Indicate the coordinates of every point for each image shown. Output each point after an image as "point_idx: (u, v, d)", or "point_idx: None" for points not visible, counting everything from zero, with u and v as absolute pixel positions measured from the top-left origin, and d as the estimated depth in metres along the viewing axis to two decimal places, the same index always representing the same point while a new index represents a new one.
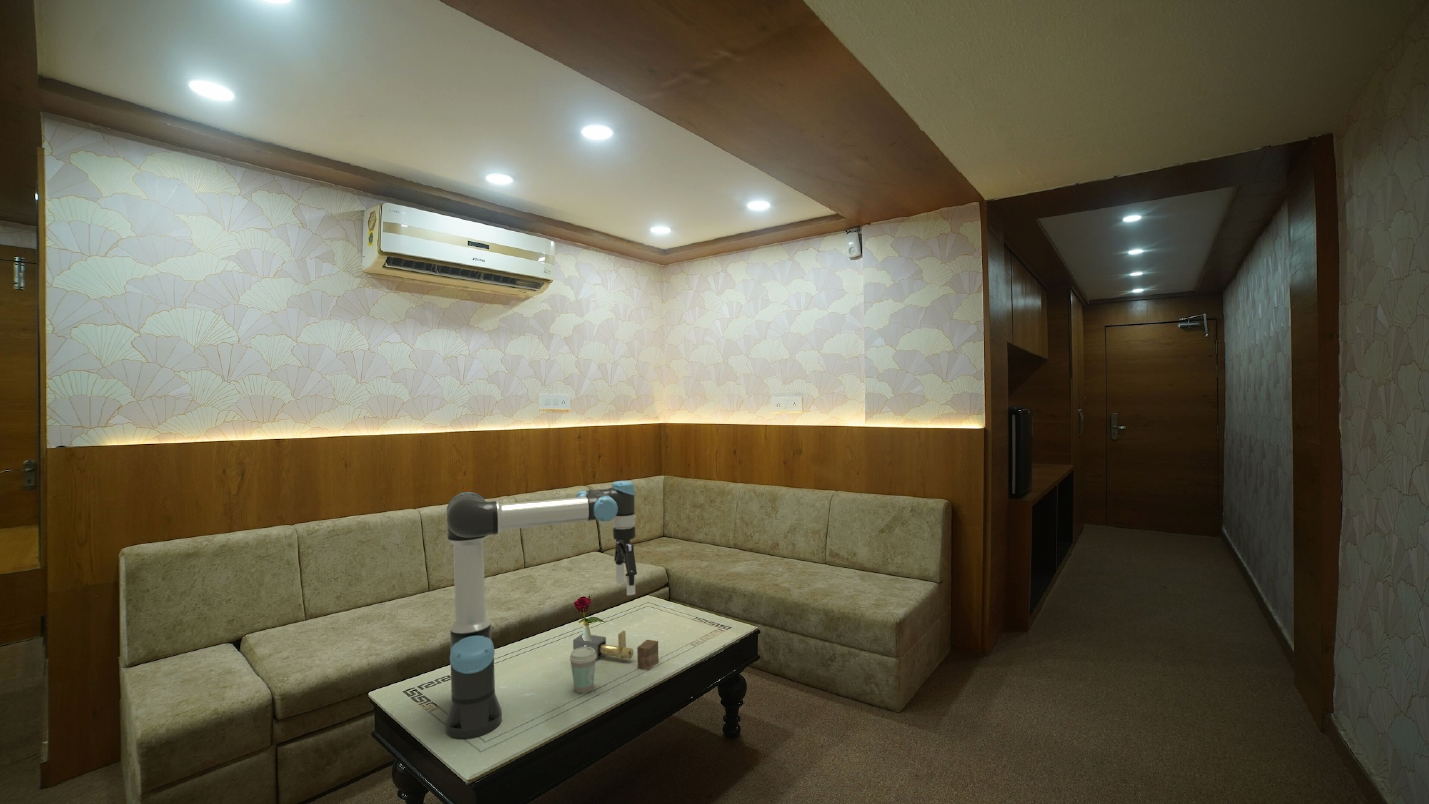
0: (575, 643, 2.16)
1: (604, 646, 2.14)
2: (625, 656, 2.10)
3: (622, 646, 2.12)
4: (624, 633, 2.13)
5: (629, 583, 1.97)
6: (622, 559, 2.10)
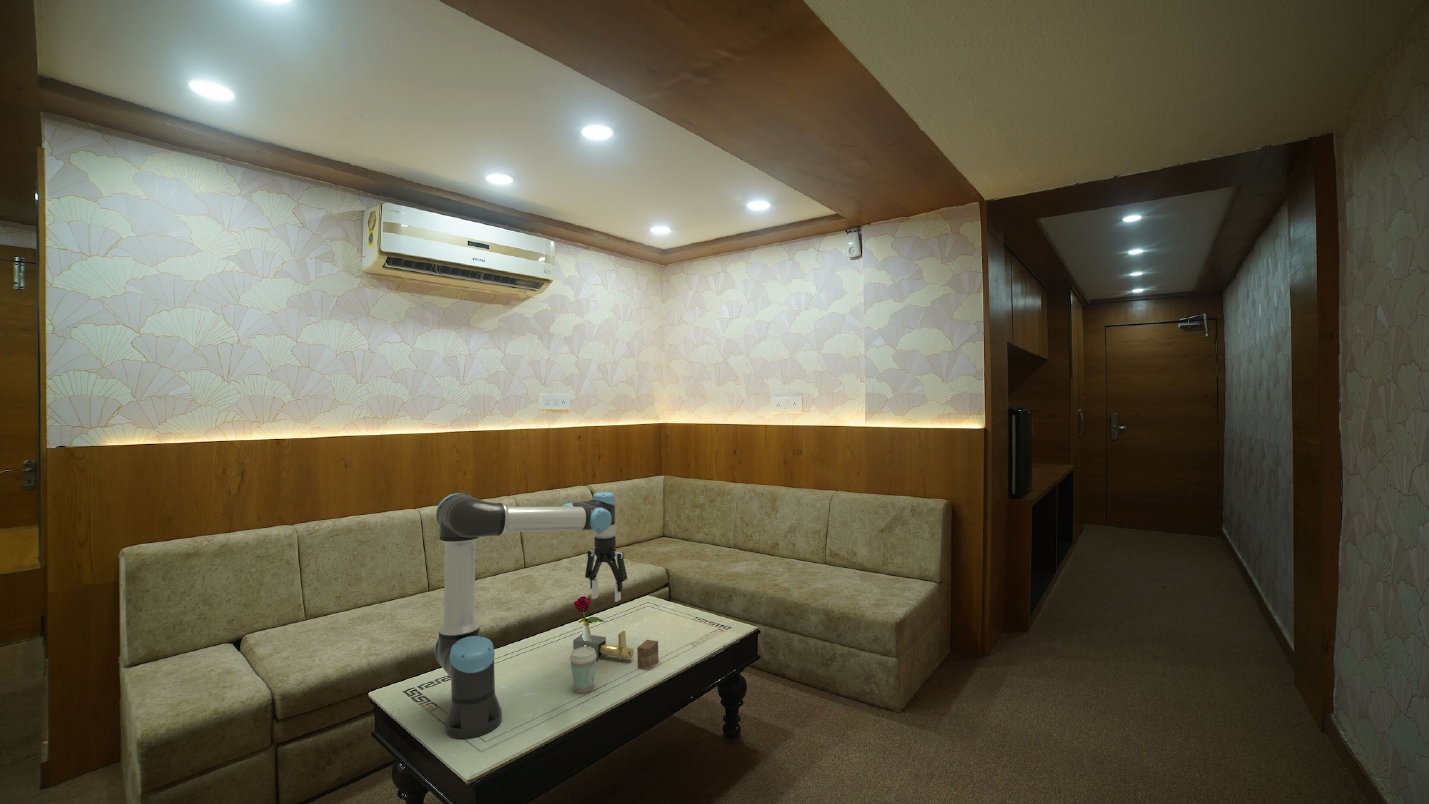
0: (575, 643, 2.16)
1: (604, 646, 2.14)
2: (625, 656, 2.10)
3: (622, 646, 2.12)
4: (624, 633, 2.13)
5: None
6: None
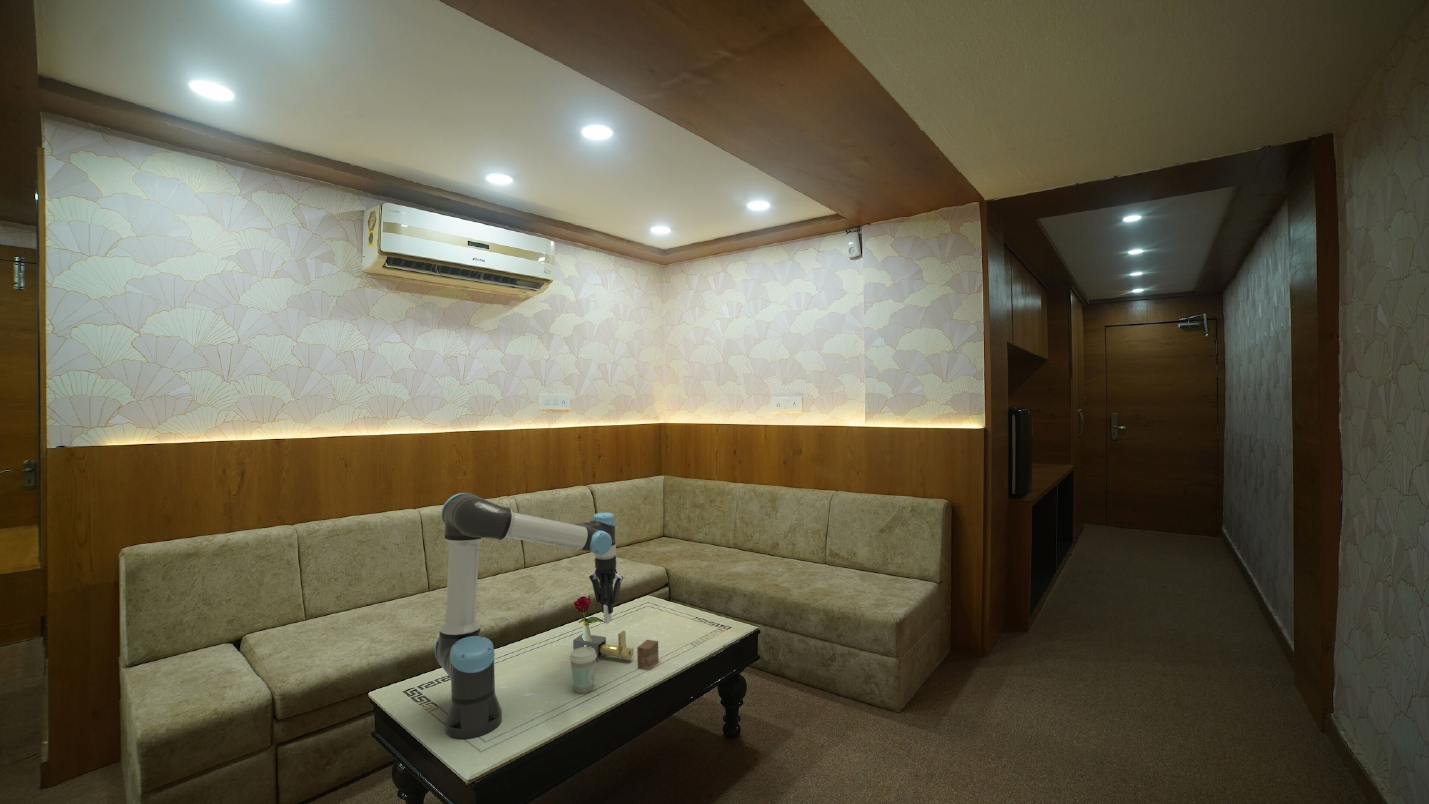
0: (575, 643, 2.16)
1: (604, 646, 2.14)
2: (625, 656, 2.10)
3: (622, 646, 2.12)
4: (624, 633, 2.13)
5: None
6: None
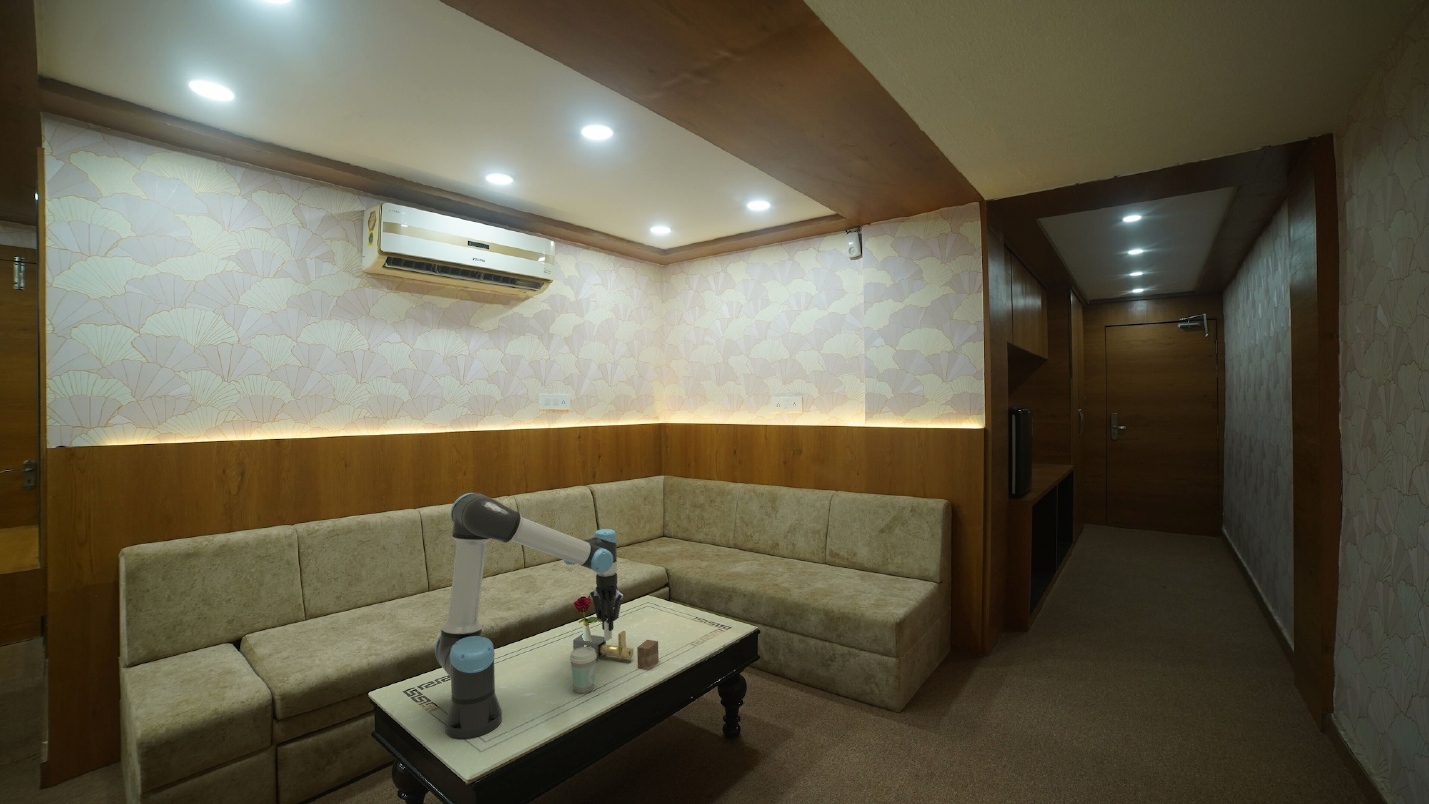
0: (575, 643, 2.16)
1: (604, 646, 2.14)
2: (625, 656, 2.10)
3: (622, 646, 2.12)
4: (624, 633, 2.13)
5: None
6: None
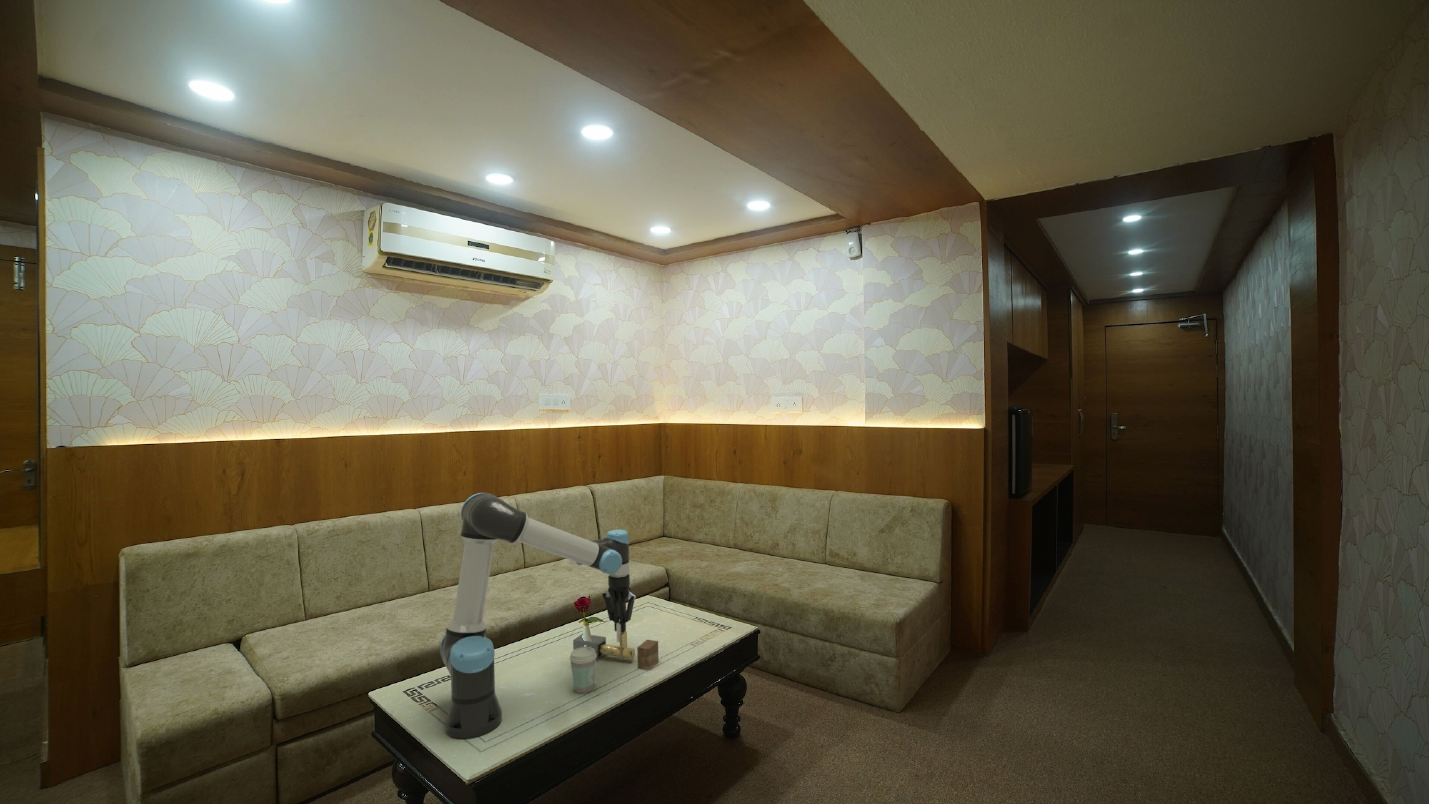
0: (575, 643, 2.16)
1: (605, 646, 2.14)
2: (626, 656, 2.10)
3: (623, 646, 2.11)
4: (625, 633, 2.13)
5: None
6: None
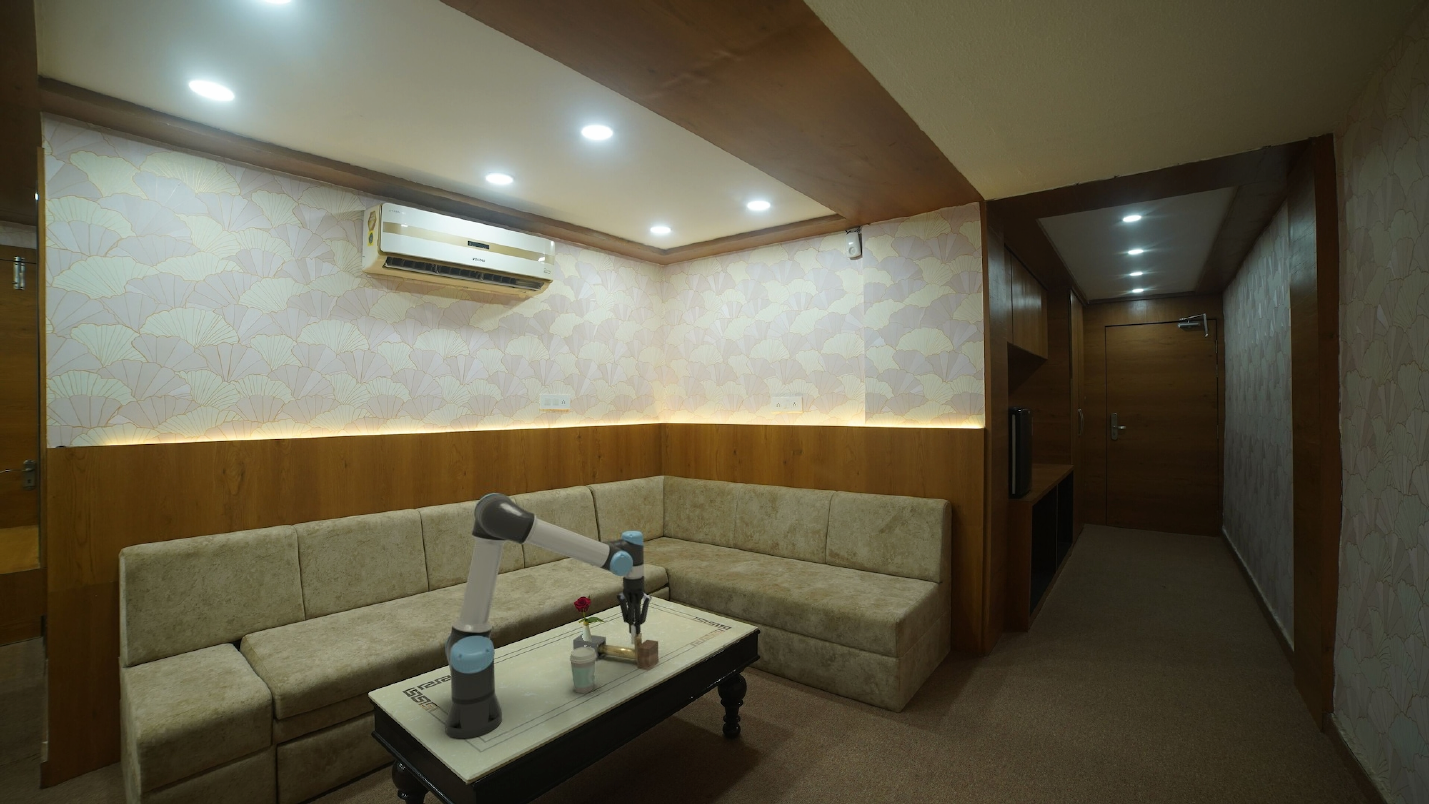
0: (575, 643, 2.16)
1: (620, 648, 2.12)
2: None
3: None
4: (640, 635, 2.11)
5: None
6: None
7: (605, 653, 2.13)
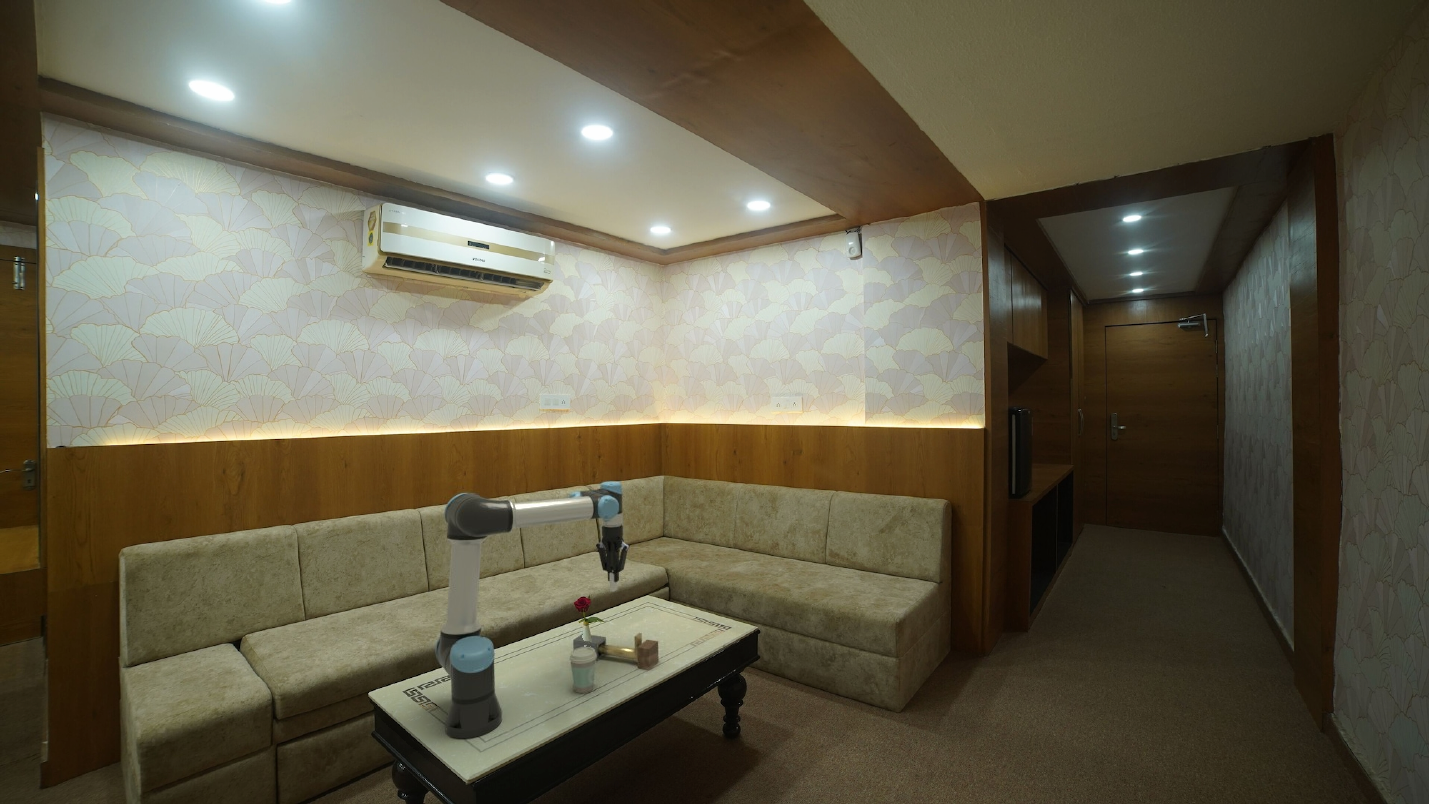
0: (575, 643, 2.16)
1: (620, 648, 2.12)
2: None
3: None
4: (640, 635, 2.11)
5: None
6: None
7: (605, 653, 2.13)
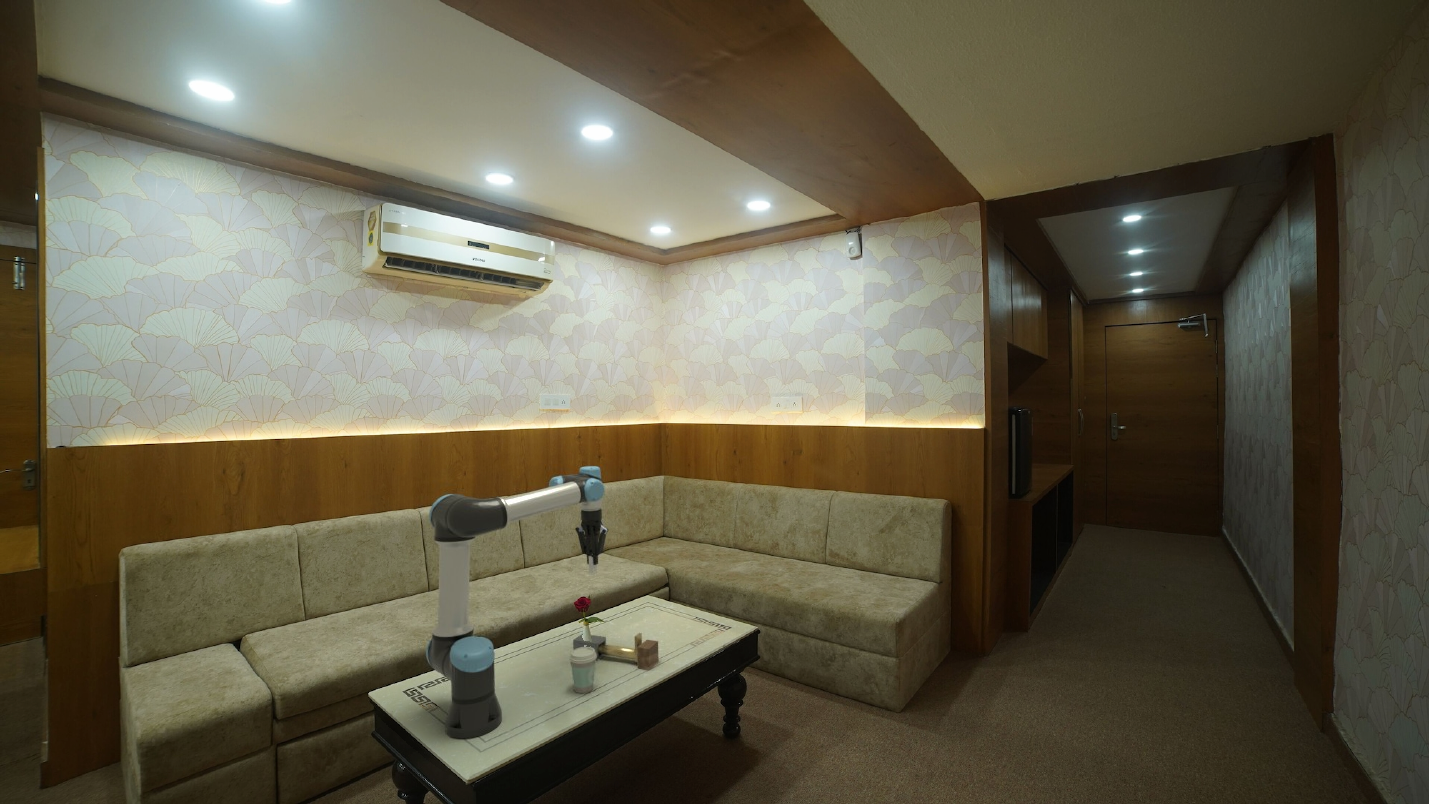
0: (575, 643, 2.16)
1: (620, 648, 2.12)
2: None
3: None
4: (640, 635, 2.11)
5: None
6: None
7: (605, 653, 2.13)
